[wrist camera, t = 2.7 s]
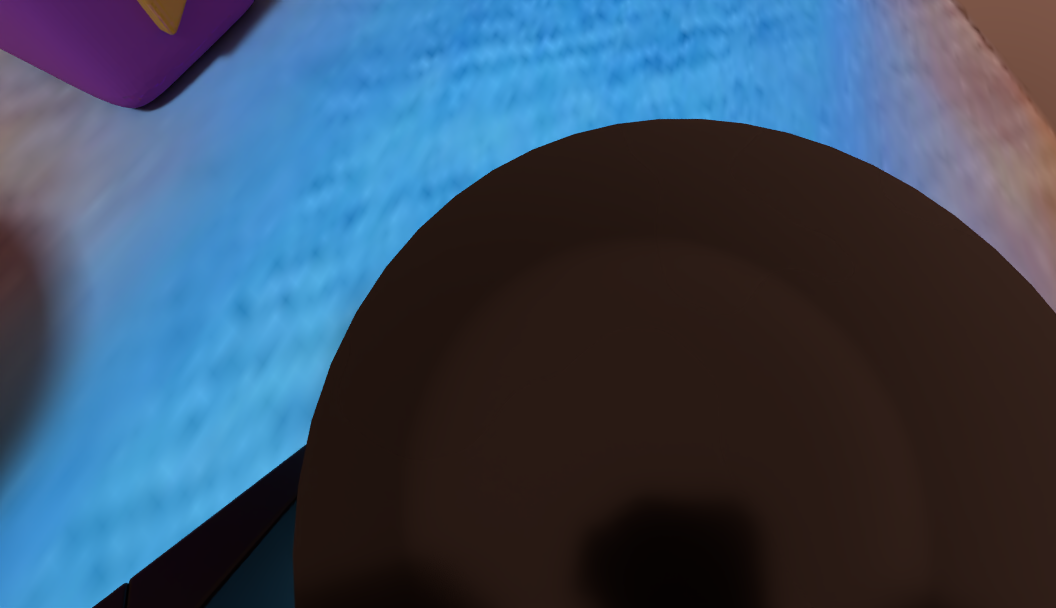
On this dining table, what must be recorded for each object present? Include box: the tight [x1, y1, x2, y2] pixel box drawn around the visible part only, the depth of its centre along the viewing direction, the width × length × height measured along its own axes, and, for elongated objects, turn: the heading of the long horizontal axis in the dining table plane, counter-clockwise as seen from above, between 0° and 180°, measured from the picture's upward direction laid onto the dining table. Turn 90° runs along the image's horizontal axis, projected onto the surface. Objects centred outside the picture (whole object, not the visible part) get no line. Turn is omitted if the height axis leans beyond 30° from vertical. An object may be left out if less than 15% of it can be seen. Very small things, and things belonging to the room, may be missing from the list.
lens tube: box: [293, 119, 1056, 608], centre depth 10 cm, size 5×5×15 cm
